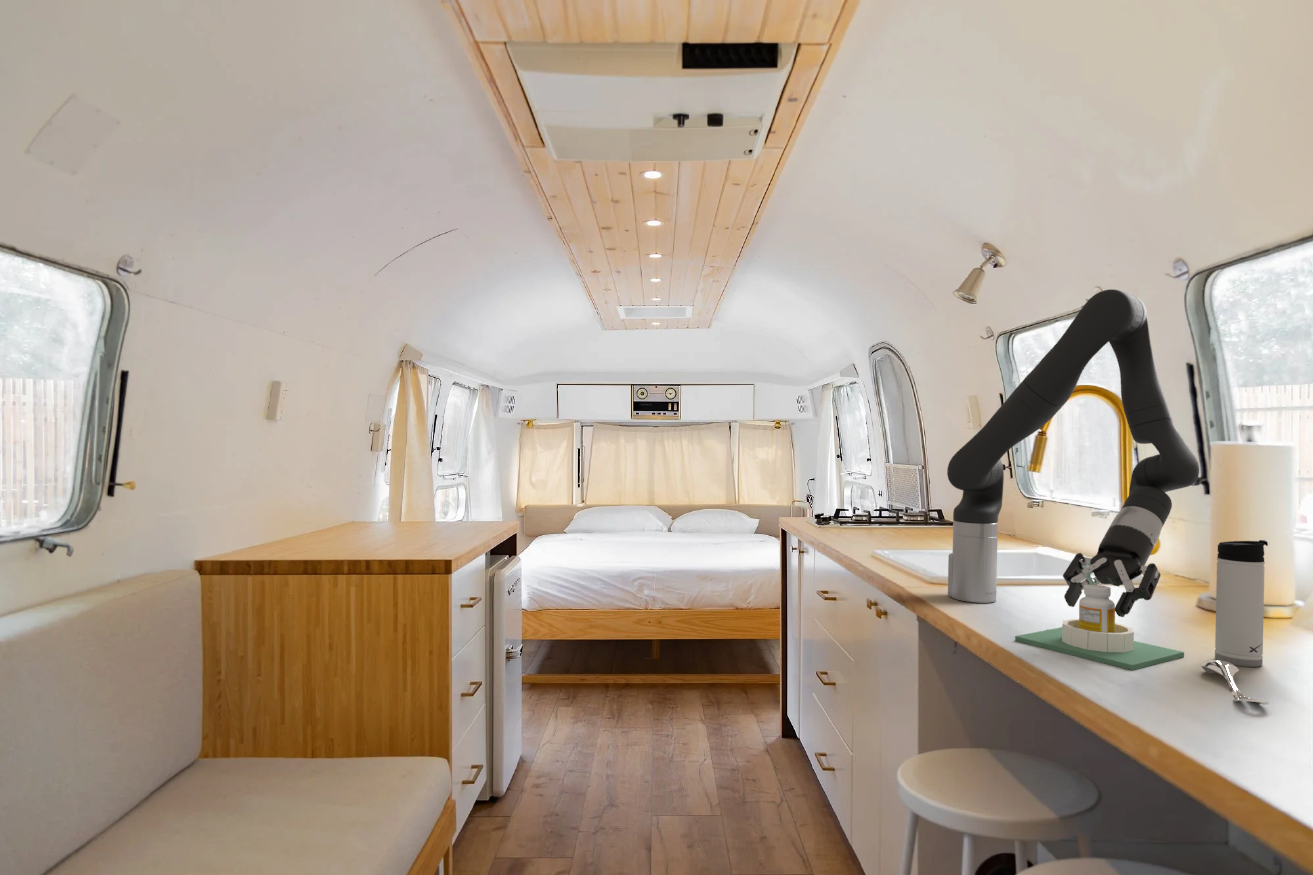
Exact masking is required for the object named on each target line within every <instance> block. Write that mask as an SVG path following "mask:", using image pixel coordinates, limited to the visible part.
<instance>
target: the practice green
mask: <svg viewBox="0 0 1313 875" xmlns="http://www.w3.org/2000/svg"><path fill="white" fill-rule="evenodd" d="M1134 634H1135V632H1134V629H1133V628H1132V627H1131V626H1127V625H1124V624H1121V623H1117V622H1115V633H1104V632H1095V631H1088V630H1084V629H1079V618H1071V619H1065V620H1062V627H1056V628H1052V629H1051V628H1050V629H1046V630H1045V629H1044V630H1040V631H1035V632H1031V633H1023V634H1019V635H1018V634H1017V635H1015V636H1014V637H1015V638H1014V641H1016V642H1020V643H1023V644H1027V645H1031V646H1035V647H1039V648H1043V649H1047V650H1050V651H1053V652H1054V651H1055V652H1059V653H1062V654H1067V655H1070V656H1074V657H1078V658H1082V659H1087V660H1091V661H1095V662H1099V663H1103V664H1107V665H1111V666H1115V667H1118V668H1123V669H1126V670H1130V671H1134V670H1139V669H1142V668H1143V669H1144V668H1147V667H1150V666H1154V665H1157V664H1162V663H1165V662H1169V661H1174V660H1177V659H1181V658H1184V657H1185V652H1184V651H1181V650H1176V649H1172V648H1167V647H1163V646H1159V645H1156V644H1155V645H1154V644H1150V643H1147V642H1146V643H1144V642H1140V641H1136V640H1135V635H1134Z"/></svg>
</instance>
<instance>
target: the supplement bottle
mask: <svg viewBox="0 0 1313 875" xmlns="http://www.w3.org/2000/svg"><path fill="white" fill-rule="evenodd" d="M1111 591H1112V590H1111V587H1110V586H1106V585H1103V584H1100V585H1099V584H1097V585H1085V586H1084V589H1083V593H1084V595H1085V596H1084V597H1081V598H1080V599H1079V602H1078V604H1079V605H1078V606H1079V607H1078V609H1079V610H1078V614H1079V615H1078V619H1079V629H1084V630H1088V631H1095V632H1104V633H1115V623H1116V611H1115V607H1116V604H1115V602H1114V600H1111V599H1110V597H1111V594H1112V593H1111Z"/></svg>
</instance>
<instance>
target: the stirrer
mask: <svg viewBox="0 0 1313 875" xmlns="http://www.w3.org/2000/svg"><path fill="white" fill-rule="evenodd" d="M1200 668H1201V669H1202V670H1203V671H1204V672H1206V673H1209V674H1210V673H1211V674H1219V675H1221V676H1222V677H1223V678H1224V679H1225V681H1226V682H1227V683H1228V685H1229V689H1230V693H1231V694H1232V696H1233V698H1232V701H1234V702H1239V701H1241V702H1243V701H1244V702H1250V703H1252V702H1253V703H1256V704H1257V705H1263V706H1264V705H1265V706H1266V705H1267V706H1268V705H1269V703H1270V702H1269V701H1265V700H1257V699H1253V698H1250V697H1247V696H1245V695H1244V694H1243V693H1242V692H1241V690H1240V689H1239V688H1238V686H1237V684H1236V682H1235V679H1234V675H1235V674H1236V673H1237V672H1239V671H1240V668H1238V666H1236V665H1233V664H1232V663H1229V662H1226V661H1221V660H1217V659H1210V660H1207V661H1205V662H1203V663H1201V665H1200Z"/></svg>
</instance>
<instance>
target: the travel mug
mask: <svg viewBox="0 0 1313 875" xmlns="http://www.w3.org/2000/svg"><path fill="white" fill-rule="evenodd" d="M1265 546H1266V547H1268V546H1269V543H1268V541H1267V540H1265V539H1260V540H1233V541H1221V542H1218V544H1217V556H1216V557H1217V558H1216V561H1217V562H1216V587H1215V588H1216V590H1215V593H1216V596H1215V603H1216V604H1215V634H1214V635H1215V637H1214V638H1215V640H1214V642H1215V643H1214V644H1215V645H1214V647H1215V649H1214V658H1215V660H1221V661H1226V662H1229V663H1232V664H1233V665H1235V666H1236V667H1243V668H1244V667H1245V668H1257V667H1261V666H1263V658H1264V657H1263V654H1264V617H1265V616H1264V613H1265V612H1264V609H1265V608H1264V607H1265V606H1264V605H1265V570H1266V569H1265V563H1266V561H1265V557H1264V556H1265V548H1264V547H1265Z"/></svg>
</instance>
